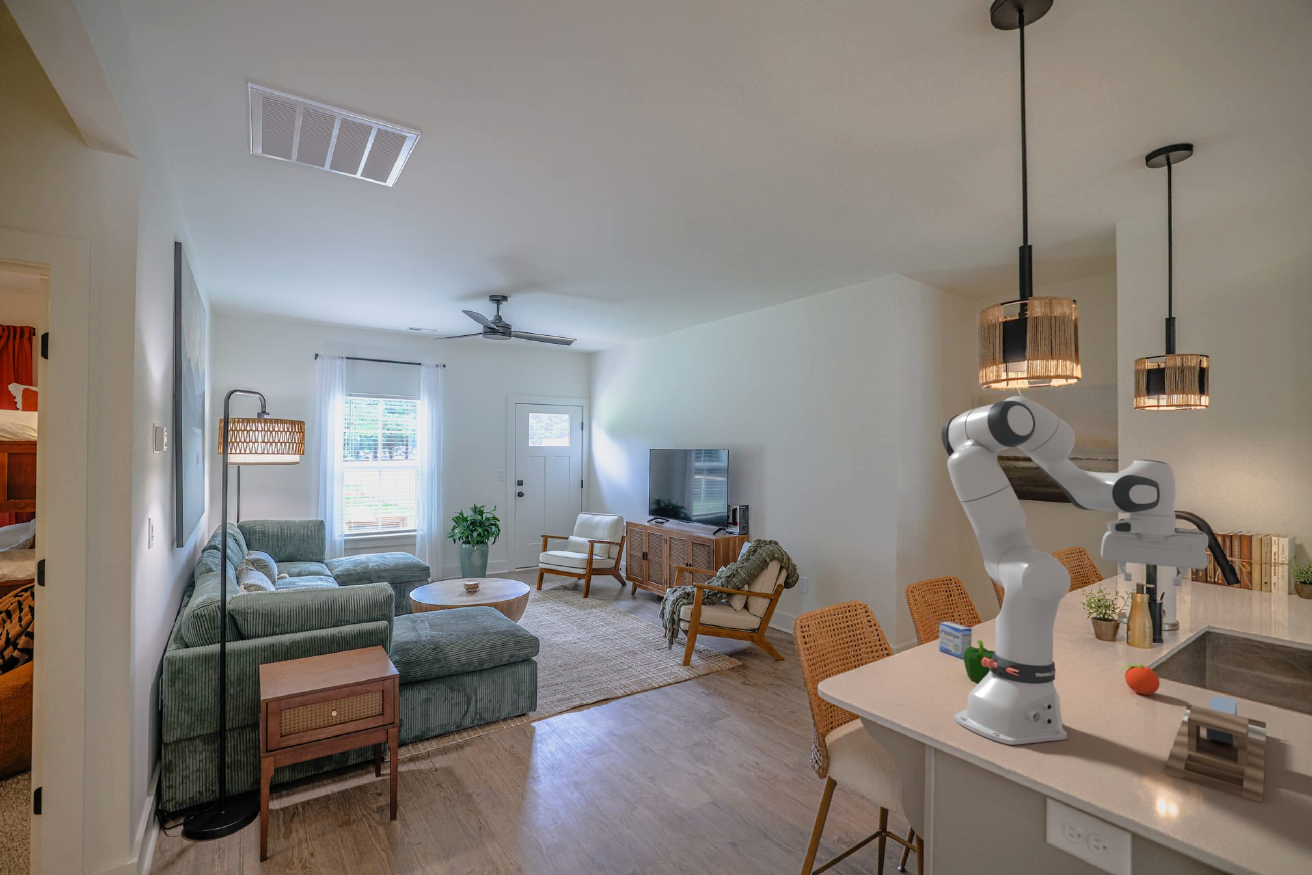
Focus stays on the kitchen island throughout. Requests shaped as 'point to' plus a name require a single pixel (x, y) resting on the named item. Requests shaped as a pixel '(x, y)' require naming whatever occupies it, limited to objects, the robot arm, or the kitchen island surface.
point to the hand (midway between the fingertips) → (1151, 583)
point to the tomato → (1141, 679)
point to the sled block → (1225, 707)
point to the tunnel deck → (1220, 752)
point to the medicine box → (954, 639)
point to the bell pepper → (976, 662)
